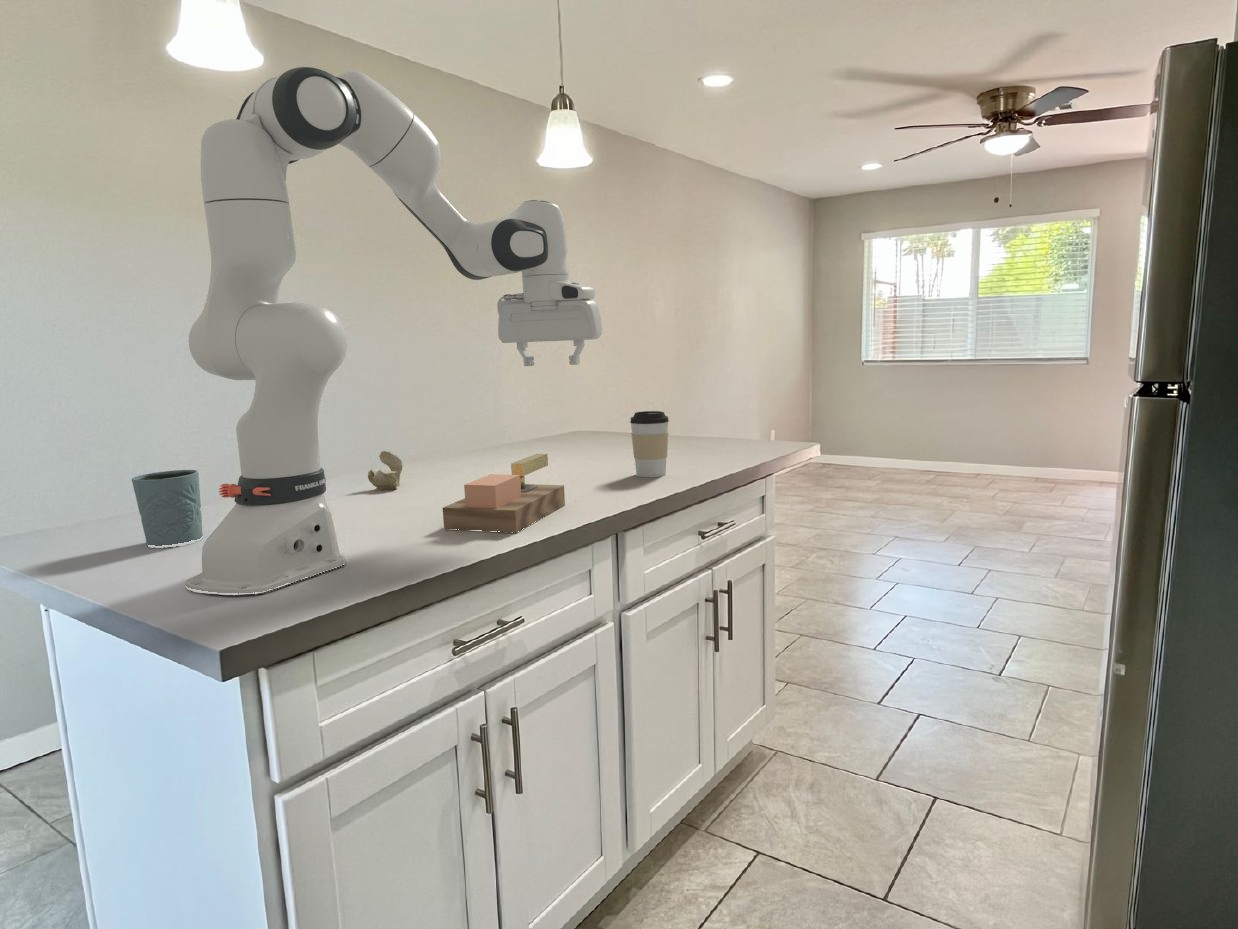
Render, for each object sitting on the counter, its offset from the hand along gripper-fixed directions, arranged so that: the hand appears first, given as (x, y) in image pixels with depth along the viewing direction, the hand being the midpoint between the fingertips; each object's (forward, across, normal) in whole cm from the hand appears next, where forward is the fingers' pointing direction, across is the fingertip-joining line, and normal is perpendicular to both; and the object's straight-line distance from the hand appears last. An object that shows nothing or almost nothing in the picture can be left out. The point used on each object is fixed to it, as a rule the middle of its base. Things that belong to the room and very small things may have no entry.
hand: (551, 365), depth 150 cm
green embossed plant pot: (+26, -57, -39) cm, 74 cm away
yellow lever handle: (+23, -6, -1) cm, 24 cm away
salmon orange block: (+23, -6, -17) cm, 29 cm away
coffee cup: (+29, +10, +32) cm, 44 cm away
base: (+27, -6, -12) cm, 30 cm away
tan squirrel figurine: (+28, -46, +9) cm, 54 cm away
